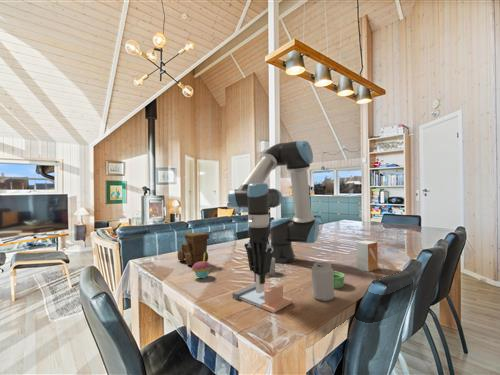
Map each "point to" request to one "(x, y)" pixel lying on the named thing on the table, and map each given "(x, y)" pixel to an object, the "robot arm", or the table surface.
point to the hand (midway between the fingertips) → (260, 291)
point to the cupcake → (201, 268)
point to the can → (322, 281)
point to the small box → (366, 255)
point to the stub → (275, 299)
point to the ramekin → (338, 279)
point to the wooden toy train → (194, 248)
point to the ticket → (250, 295)
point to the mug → (272, 267)
